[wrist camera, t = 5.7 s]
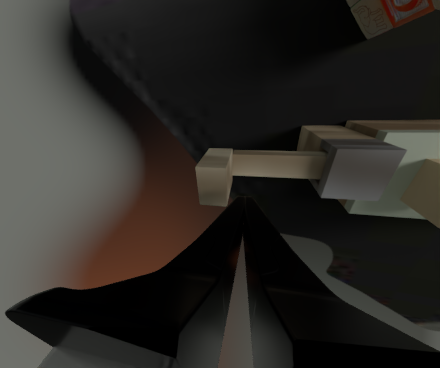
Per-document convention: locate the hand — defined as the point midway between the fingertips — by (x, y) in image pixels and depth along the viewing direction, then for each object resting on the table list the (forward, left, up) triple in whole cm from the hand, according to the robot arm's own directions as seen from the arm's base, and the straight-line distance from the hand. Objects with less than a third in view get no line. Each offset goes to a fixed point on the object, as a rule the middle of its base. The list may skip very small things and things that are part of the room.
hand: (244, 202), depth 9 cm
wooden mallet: (0, -2, -7) cm, 7 cm away
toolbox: (-2, -13, -13) cm, 19 cm away
